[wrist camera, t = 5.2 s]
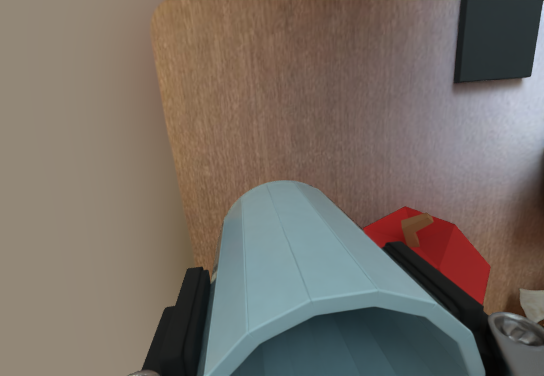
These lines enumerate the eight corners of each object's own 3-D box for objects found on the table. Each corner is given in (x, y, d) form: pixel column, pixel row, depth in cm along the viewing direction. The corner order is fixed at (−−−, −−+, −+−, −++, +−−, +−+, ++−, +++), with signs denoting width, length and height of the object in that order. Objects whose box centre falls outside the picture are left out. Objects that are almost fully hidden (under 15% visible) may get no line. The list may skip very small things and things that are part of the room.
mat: (463, -32, 25) (471, -37, 24) (540, -34, 26) (549, -39, 25) (453, 83, 28) (459, 82, 27) (523, 77, 28) (531, 76, 28)
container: (211, 187, 13) (162, 321, 5) (342, 173, 14) (506, 270, 5) (227, 301, 15) (213, 544, 7) (342, 284, 16) (464, 486, 7)
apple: (353, 307, 35) (314, 224, 27) (432, 259, 35) (414, 166, 28) (425, 411, 24) (392, 321, 17) (535, 340, 25) (548, 224, 18)
